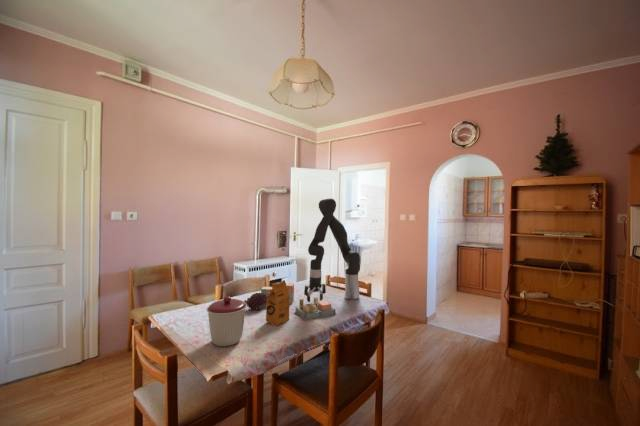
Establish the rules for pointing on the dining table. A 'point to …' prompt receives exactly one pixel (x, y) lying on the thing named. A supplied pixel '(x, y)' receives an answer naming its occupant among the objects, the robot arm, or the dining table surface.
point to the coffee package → (278, 304)
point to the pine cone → (256, 300)
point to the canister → (226, 321)
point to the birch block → (307, 307)
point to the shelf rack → (315, 313)
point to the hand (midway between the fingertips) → (314, 301)
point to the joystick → (322, 304)
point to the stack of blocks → (290, 288)
